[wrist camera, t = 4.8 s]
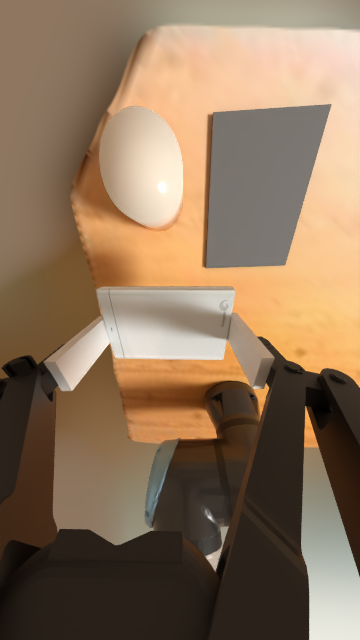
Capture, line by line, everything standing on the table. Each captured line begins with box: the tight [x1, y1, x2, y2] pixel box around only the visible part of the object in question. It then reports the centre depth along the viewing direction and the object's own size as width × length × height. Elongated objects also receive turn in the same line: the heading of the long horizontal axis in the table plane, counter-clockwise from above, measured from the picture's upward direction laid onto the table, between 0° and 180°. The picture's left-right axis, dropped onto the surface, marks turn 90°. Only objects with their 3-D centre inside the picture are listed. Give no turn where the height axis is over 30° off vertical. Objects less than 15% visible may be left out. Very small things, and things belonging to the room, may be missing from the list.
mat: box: [206, 104, 331, 268], centre depth 21 cm, size 18×14×1 cm
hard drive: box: [97, 286, 235, 360], centre depth 15 cm, size 2×8×12 cm
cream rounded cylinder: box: [99, 106, 183, 231], centre depth 17 cm, size 8×8×9 cm
